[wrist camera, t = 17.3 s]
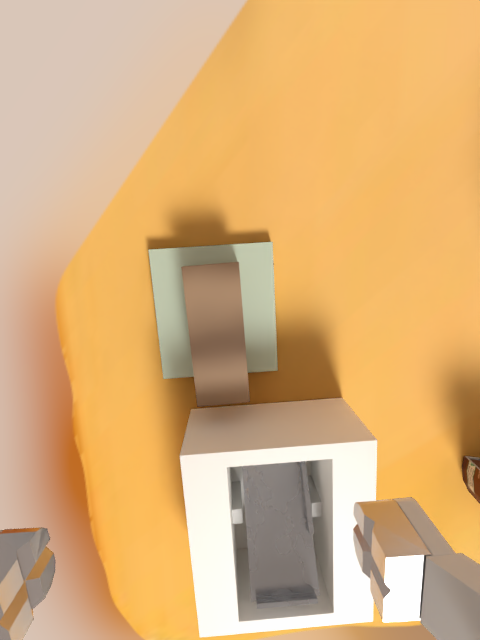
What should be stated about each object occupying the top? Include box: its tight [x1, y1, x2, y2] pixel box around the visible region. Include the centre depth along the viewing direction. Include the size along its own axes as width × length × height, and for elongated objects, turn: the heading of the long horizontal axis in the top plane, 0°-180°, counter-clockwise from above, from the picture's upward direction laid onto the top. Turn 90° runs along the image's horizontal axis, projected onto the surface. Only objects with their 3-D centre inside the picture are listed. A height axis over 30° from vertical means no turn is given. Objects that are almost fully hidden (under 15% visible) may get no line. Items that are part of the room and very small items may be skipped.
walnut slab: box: [181, 262, 250, 407], centre depth 26 cm, size 11×4×3 cm, turn 5°
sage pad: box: [149, 242, 278, 379], centre depth 27 cm, size 11×10×1 cm
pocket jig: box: [180, 398, 377, 637], centre depth 27 cm, size 16×14×7 cm
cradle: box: [242, 461, 320, 609], centre depth 27 cm, size 12×5×2 cm, turn 4°
